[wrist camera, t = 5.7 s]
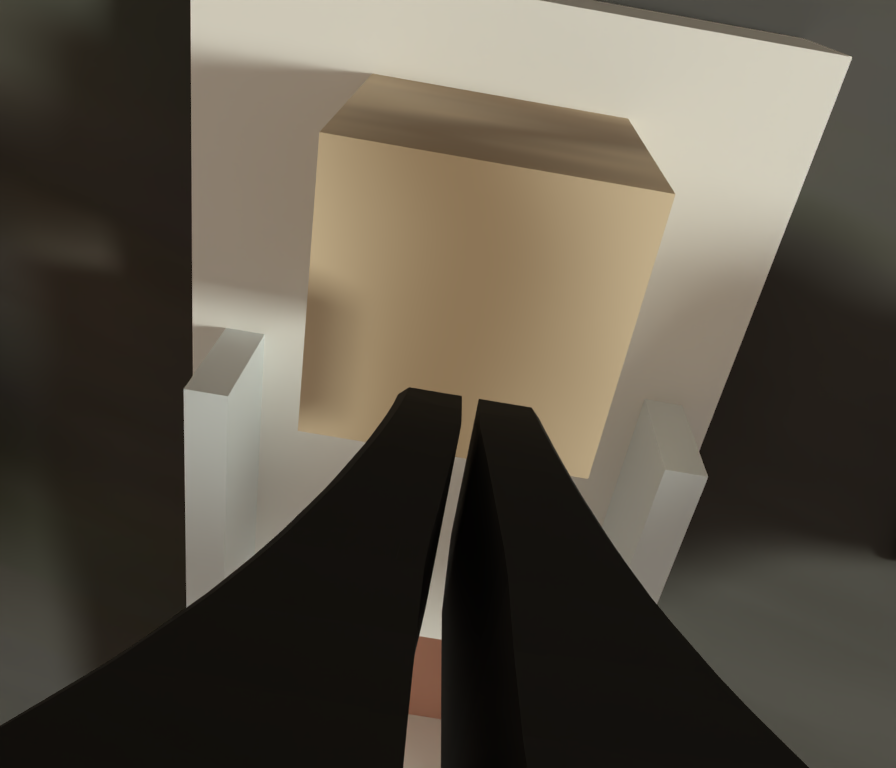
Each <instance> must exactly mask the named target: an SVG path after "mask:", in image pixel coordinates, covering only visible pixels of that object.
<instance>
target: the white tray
mask: <svg viewBox="0 0 896 768" xmlns="http://www.w3.org/2000/svg"><path fill="white" fill-rule="evenodd" d="M190 2H191V167H192V331H193V376H192V378H191V379H190V380H189V382H188V383H187V385H186V386H185V388H184V460H185V537H186V608H187V607H188V606H189V605H191V604H192V603H194V602H195V601H196V600H198V599H199V598H200V597H202V596H203V595H205V594H206V593H207V592H209V591H210V590H211V589H213V588H214V587H215V586H216V585H218V584H219V583H220V582H221V581H223V580H224V579H225V578H226V577H228V576H229V575H230V574H231V573H233V572H234V571H235V570H236V569H238V568H239V567H240V566H241V565H243V564H244V563H245V562H246V561H247V560H249V559H250V558H251V557H252V556H253V555H255V554H256V553H257V552H258V551H259V550H260V549H262V548H263V547H264V546H265V545H266V544H267V543H268V542H270V541H271V540H272V539H273V538H274V537H275V536H276V535H277V534H279V533H280V532H281V531H282V530H283V529H284V528H285V527H286V526H287V525H288V524H289V523H290V522H291V521H292V520H293V519H294V518H295V517H296V516H297V515H298V514H299V513H300V512H301V511H302V510H303V509H305V508H306V507H307V506H308V505H309V504H310V503H311V502H312V501H313V500H314V499H315V498H316V497H317V496H318V495H319V494H320V493H321V492H322V491H323V490H324V489H325V488H326V487H327V486H328V485H329V484H330V483H331V482H332V480H333V479H334V478H335V477H336V476H337V475H338V474H339V473H340V471H341V470H342V469H343V468H344V467H345V466H346V465H347V463H348V462H349V461H350V460H351V459H352V458H353V457H354V455H355V454H356V453H357V452H358V451H359V450H360V449H361V447H362V446H363V445H364V444H365V443H366V442H362V441H356V440H350V439H344V438H338V437H332V436H326V435H320V434H314V433H308V432H302V431H298V420H299V406H300V392H301V378H302V365H303V351H304V337H305V323H306V309H307V295H308V282H309V268H310V254H311V240H312V226H313V213H314V199H315V185H316V171H317V157H318V143H319V132H320V131H321V130H322V129H323V127H324V126H325V125H326V124H327V123H328V122H329V121H330V120H331V119H332V118H333V116H334V115H335V114H336V113H337V112H338V111H339V110H340V109H341V108H342V107H343V105H344V104H345V103H346V102H347V101H348V100H349V99H350V98H351V97H352V95H353V94H354V93H355V92H356V91H357V90H358V89H359V88H360V87H361V86H362V84H363V83H364V82H365V81H366V80H367V79H368V78H369V77H370V76H371V75H372V74H378V75H384V76H389V77H395V78H401V79H406V80H412V81H418V82H423V83H429V84H435V85H440V86H446V87H452V88H457V89H463V90H469V91H474V92H480V93H486V94H491V95H497V96H503V97H508V98H514V99H520V100H525V101H531V102H537V103H542V104H548V105H554V106H559V107H565V108H571V109H576V110H582V111H588V112H594V113H599V114H605V115H611V116H616V117H622V118H628V119H629V121H630V122H631V124H632V126H633V127H634V129H635V130H636V132H637V134H638V135H639V137H640V138H641V140H642V142H643V143H644V145H645V146H646V148H647V150H648V151H649V153H650V154H651V156H652V158H653V159H654V161H655V162H656V164H657V165H658V167H659V169H660V170H661V172H662V173H663V175H664V177H665V178H666V180H667V181H668V183H669V185H670V186H671V188H672V189H673V191H674V193H675V198H674V201H673V204H672V207H671V211H670V214H669V217H668V220H667V224H666V227H665V230H664V233H663V237H662V240H661V243H660V246H659V250H658V253H657V256H656V259H655V263H654V266H653V269H652V273H651V276H650V279H649V282H648V286H647V289H646V292H645V295H644V299H643V302H642V305H641V308H640V312H639V315H638V318H637V321H636V325H635V328H634V331H633V334H632V338H631V341H630V344H629V348H628V351H627V354H626V357H625V361H624V364H623V367H622V370H621V374H620V377H619V380H618V383H617V387H616V390H615V393H614V396H613V400H612V403H611V406H610V409H609V413H608V416H607V419H606V422H605V426H604V429H603V432H602V436H601V439H600V442H599V445H598V449H597V452H596V455H595V458H594V462H593V465H592V468H591V471H590V475H589V478H588V479H585V478H579V477H573V476H571V478H572V480H573V482H574V483H575V485H576V487H577V488H578V490H579V492H580V493H581V495H582V497H583V498H584V500H585V501H586V503H587V505H588V506H589V508H590V509H591V511H592V512H593V514H594V515H595V517H596V519H597V520H598V522H599V523H600V525H601V526H602V528H603V530H604V531H605V533H606V534H607V536H608V537H609V539H610V540H611V542H612V543H613V545H614V546H615V548H616V549H617V551H618V552H619V553H620V555H621V556H622V558H623V559H624V561H625V562H626V564H627V565H628V566H629V568H630V569H631V570H632V572H633V573H634V574H635V576H636V577H637V579H638V580H639V581H640V583H641V584H642V585H643V587H644V588H645V590H646V591H647V592H648V594H649V595H650V596H651V598H652V599H653V600H654V602H655V603H656V604H657V603H658V600H659V598H660V595H661V593H662V590H663V588H664V585H665V583H666V580H667V578H668V575H669V573H670V570H671V568H672V566H673V563H674V561H675V558H676V556H677V553H678V551H679V548H680V546H681V543H682V541H683V538H684V536H685V533H686V531H687V528H688V526H689V523H690V521H691V518H692V516H693V514H694V511H695V509H696V506H697V504H698V501H699V499H700V496H701V494H702V491H703V489H704V486H705V484H706V481H707V479H708V475H707V472H706V469H705V467H704V464H703V461H702V458H701V456H700V453H699V450H700V448H701V445H702V443H703V440H704V437H705V435H706V432H707V430H708V427H709V425H710V422H711V419H712V417H713V414H714V412H715V409H716V407H717V404H718V401H719V399H720V396H721V394H722V391H723V389H724V386H725V383H726V381H727V378H728V376H729V373H730V371H731V368H732V365H733V363H734V360H735V358H736V355H737V353H738V350H739V347H740V345H741V342H742V340H743V337H744V335H745V332H746V329H747V327H748V324H749V322H750V319H751V316H752V314H753V311H754V309H755V306H756V304H757V301H758V298H759V296H760V293H761V291H762V288H763V286H764V283H765V280H766V278H767V275H768V273H769V270H770V268H771V265H772V262H773V260H774V257H775V255H776V252H777V250H778V247H779V244H780V242H781V239H782V237H783V234H784V232H785V229H786V226H787V224H788V221H789V219H790V216H791V214H792V211H793V208H794V206H795V203H796V201H797V198H798V196H799V193H800V190H801V188H802V185H803V183H804V180H805V178H806V175H807V172H808V170H809V167H810V165H811V162H812V160H813V157H814V154H815V152H816V149H817V147H818V144H819V142H820V139H821V136H822V134H823V131H824V129H825V126H826V124H827V121H828V118H829V116H830V113H831V111H832V108H833V106H834V103H835V100H836V98H837V95H838V93H839V90H840V88H841V85H842V82H843V80H844V77H845V75H846V72H847V70H848V67H849V64H850V62H851V59H852V57H851V56H849V55H846V54H843V53H841V52H838V51H835V50H833V49H830V48H828V47H825V46H822V45H820V44H817V43H814V42H812V41H809V40H807V39H804V38H799V37H793V36H788V35H782V34H777V33H771V32H766V31H760V30H755V29H749V28H744V27H738V26H733V25H727V24H722V23H716V22H711V21H705V20H700V19H694V18H689V17H683V16H678V15H672V14H667V13H661V12H656V11H650V10H644V9H639V8H633V7H628V6H622V5H617V4H611V3H606V2H600V1H595V0H190ZM465 464H466V459H465V458H459V457H455V460H454V465H453V470H452V475H451V481H450V486H449V491H448V496H447V501H446V506H445V511H444V516H443V522H442V527H441V532H440V537H439V542H438V547H437V552H436V557H435V563H434V568H433V573H432V578H431V583H430V588H429V593H428V599H427V604H426V609H425V613H424V617H423V622H422V626H421V630H420V634H419V639H418V643H417V647H416V652H415V656H414V665H413V674H412V684H411V693H410V703H409V713H408V723H407V733H406V743H405V754H404V764H403V768H441V640H442V606H443V597H444V588H445V580H446V571H447V563H448V555H449V546H450V538H451V532H452V527H453V522H454V517H455V513H456V508H457V503H458V498H459V493H460V488H461V483H462V478H463V473H464V468H465Z"/></svg>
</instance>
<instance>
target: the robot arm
mask: <svg viewBox="0 0 896 768" xmlns="http://www.w3.org/2000/svg"><path fill="white" fill-rule="evenodd" d="M461 421H462V396H459V395H453V394H447V393H441V392H435V391H429V390H423V389H417V388H411V387H409V388H407V389H406V390H404V391H402V392H401V393H399V394H398V395H397V397H396V399H395V401H394V403H393V405H392V407H391V408H390V410H389V411H388V413H387V414H386V416H385V417H384V419H383V420H382V422H381V423H380V424H379V426H378V427H377V428H376V430H375V431H374V432H373V434H372V435H371V436H370V437H369V439H368V440H367V441H366V443H365V444H364V445H363V446H362V447H361V449H360V450H359V451H358V452H357V453H356V454H355V455H354V457H353V458H352V459H351V460H350V461H349V462H348V463H347V465H346V466H345V467H344V468H343V469H342V470H341V471H340V473H339V474H338V475H337V476H336V477H335V478H334V479H333V480H332V482H331V483H330V484H329V485H328V486H327V487H326V488H325V489H324V490H323V491H322V492H321V493H320V494H319V495H318V496H317V497H316V498H315V499H314V500H313V501H312V502H311V503H310V504H309V505H308V506H307V507H306V508H305V509H303V510H302V511H301V512H300V513H299V514H298V515H297V516H296V517H295V518H294V519H293V520H292V521H291V522H290V523H289V524H288V525H287V526H286V527H285V528H284V529H283V530H282V531H281V532H280V533H279V534H277V535H276V536H275V537H274V538H273V539H272V540H271V541H270V542H268V543H267V544H266V545H265V546H264V547H263V548H262V549H260V550H259V551H258V552H257V553H256V554H255V555H253V556H252V557H251V558H250V559H249V560H247V561H246V562H245V563H244V564H243V565H241V566H240V567H239V568H238V569H236V570H235V571H234V572H233V573H231V574H230V575H229V576H228V577H226V578H225V579H224V580H223V581H221V582H220V583H219V584H218V585H216V586H215V587H214V588H213V589H211V590H210V591H209V592H207V593H206V594H205V595H203V596H202V597H200V598H199V599H198V600H196V601H195V602H194V603H192V604H191V605H189V606H188V607H187V608H185V609H184V610H182V611H181V612H180V613H178V614H177V615H175V616H174V617H173V618H171V619H170V620H168V621H167V622H166V623H164V624H163V625H161V626H160V627H159V628H157V629H156V630H154V631H153V632H152V633H150V634H149V635H147V636H146V637H144V638H143V639H141V640H140V641H138V642H137V643H135V644H134V645H132V646H131V647H129V648H128V649H126V650H125V651H123V652H122V653H120V654H119V655H117V656H116V657H114V658H113V659H111V660H110V661H108V662H106V663H105V664H103V665H102V666H100V667H98V668H97V669H95V670H93V671H92V672H90V673H88V674H87V675H85V676H83V677H82V678H80V679H78V680H76V681H75V682H73V683H71V684H70V685H68V686H66V687H65V688H63V689H61V690H60V691H58V692H56V693H55V694H53V695H51V696H50V697H48V698H46V699H45V700H43V701H41V702H39V703H38V704H36V705H34V706H33V707H31V708H29V709H28V710H26V711H24V712H23V713H21V714H19V715H18V716H16V717H14V718H13V719H11V720H9V721H8V722H6V723H4V724H2V725H1V726H0V768H403V764H404V754H405V743H406V733H407V723H408V713H409V703H410V693H411V684H412V674H413V665H414V656H415V652H416V647H417V643H418V639H419V634H420V630H421V626H422V622H423V617H424V613H425V609H426V604H427V599H428V593H429V588H430V583H431V578H432V573H433V568H434V563H435V557H436V552H437V547H438V542H439V537H440V532H441V527H442V522H443V516H444V511H445V506H446V501H447V496H448V491H449V486H450V481H451V475H452V470H453V465H454V460H455V455H456V450H457V445H458V440H459V434H460V429H461ZM441 768H809V767H808V766H807V765H806V764H805V763H804V762H803V761H802V760H801V759H800V758H799V757H797V756H796V755H795V754H794V753H793V752H792V751H791V750H790V749H789V748H788V747H787V746H786V745H785V744H784V743H783V742H782V741H781V740H780V739H779V738H778V737H777V736H776V735H775V734H774V733H773V732H772V731H771V730H770V729H769V728H768V727H767V726H766V725H765V724H764V723H763V722H762V721H761V720H760V719H759V718H758V717H757V716H756V715H755V714H754V713H753V712H752V711H751V710H750V709H749V708H748V707H747V706H746V705H745V704H744V703H743V702H742V701H741V700H740V699H739V698H738V696H737V695H736V694H735V693H734V692H733V691H732V690H731V689H730V688H729V687H728V686H727V685H726V684H725V683H724V682H723V681H722V680H721V678H720V677H719V676H718V675H717V674H716V673H715V672H714V671H713V670H712V668H711V667H710V666H709V665H708V664H707V663H706V662H705V660H704V659H703V658H702V657H701V656H700V655H699V653H698V652H697V651H696V650H695V649H694V648H693V647H692V645H691V644H690V643H689V642H688V641H687V640H686V639H685V637H684V636H683V635H682V634H681V633H680V632H679V631H678V629H677V628H676V627H675V626H674V625H673V624H672V623H671V621H670V620H669V619H668V618H667V616H666V615H665V614H664V613H663V611H662V610H661V609H660V608H659V606H658V605H657V604H656V603H655V602H654V600H653V599H652V598H651V596H650V595H649V594H648V592H647V591H646V590H645V588H644V587H643V585H642V584H641V583H640V581H639V580H638V579H637V577H636V576H635V574H634V573H633V572H632V570H631V569H630V568H629V566H628V565H627V564H626V562H625V561H624V559H623V558H622V556H621V555H620V553H619V552H618V551H617V549H616V548H615V546H614V545H613V543H612V542H611V540H610V539H609V537H608V536H607V534H606V533H605V531H604V530H603V528H602V526H601V525H600V523H599V522H598V520H597V519H596V517H595V515H594V514H593V512H592V511H591V509H590V508H589V506H588V505H587V503H586V501H585V500H584V498H583V497H582V495H581V493H580V492H579V490H578V488H577V487H576V485H575V483H574V482H573V480H572V478H571V476H570V475H569V473H568V471H567V469H566V468H565V466H564V464H563V462H562V461H561V459H560V457H559V455H558V453H557V452H556V450H555V448H554V446H553V444H552V442H551V440H550V438H549V437H548V435H547V433H546V431H545V429H544V427H543V425H542V423H541V421H540V419H539V417H538V416H537V415H536V413H535V412H534V410H533V409H532V407H526V406H520V405H514V404H508V403H502V402H496V401H490V400H484V399H479V400H478V405H477V410H476V415H475V420H474V424H473V429H472V434H471V439H470V444H469V449H468V454H467V459H466V464H465V468H464V473H463V478H462V483H461V488H460V493H459V498H458V503H457V508H456V513H455V517H454V522H453V527H452V532H451V538H450V546H449V555H448V563H447V571H446V580H445V588H444V597H443V606H442V640H441Z"/></svg>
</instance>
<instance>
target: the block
mask: <svg viewBox="0 0 896 768" xmlns="http://www.w3.org/2000/svg"><path fill="white" fill-rule="evenodd" d="M674 198H675V193H674V191H673V189H672V188H671V186H670V185H669V183H668V181H667V180H666V178H665V177H664V175H663V173H662V172H661V170H660V169H659V167H658V165H657V164H656V162H655V161H654V159H653V158H652V156H651V154H650V153H649V151H648V150H647V148H646V146H645V145H644V143H643V142H642V140H641V138H640V137H639V135H638V134H637V132H636V130H635V129H634V127H633V126H632V124H631V122H630V121H629V119H628V118H622V117H616V116H611V115H605V114H599V113H594V112H588V111H582V110H576V109H571V108H565V107H559V106H554V105H548V104H542V103H537V102H531V101H525V100H520V99H514V98H508V97H503V96H497V95H491V94H486V93H480V92H474V91H469V90H463V89H457V88H452V87H446V86H440V85H435V84H429V83H423V82H418V81H412V80H406V79H401V78H395V77H389V76H384V75H378V74H372V75H371V76H370V77H369V78H368V79H367V80H366V81H365V82H364V83H363V84H362V86H361V87H360V88H359V89H358V90H357V91H356V92H355V93H354V94H353V95H352V97H351V98H350V99H349V100H348V101H347V102H346V103H345V104H344V105H343V107H342V108H341V109H340V110H339V111H338V112H337V113H336V114H335V115H334V116H333V118H332V119H331V120H330V121H329V122H328V123H327V124H326V125H325V126H324V127H323V129H322V130H321V131H320V132H319V143H318V157H317V171H316V185H315V199H314V213H313V226H312V240H311V254H310V268H309V282H308V295H307V309H306V323H305V337H304V351H303V365H302V378H301V392H300V406H299V420H298V431H302V432H308V433H314V434H320V435H326V436H332V437H338V438H344V439H350V440H356V441H362V442H366V441H367V440H368V439H369V437H370V436H371V435H372V434H373V432H374V431H375V430H376V428H377V427H378V426H379V424H380V423H381V422H382V420H383V419H384V417H385V416H386V414H387V413H388V411H389V410H390V408H391V407H392V405H393V403H394V401H395V399H396V397H397V395H398V394H399V393H401V392H402V391H404V390H406V389H407V388H409V387H411V388H417V389H423V390H429V391H435V392H441V393H447V394H453V395H459V396H462V421H461V429H460V434H459V440H458V445H457V450H456V455H455V457H459V458H465V459H467V454H468V449H469V444H470V439H471V434H472V429H473V424H474V420H475V415H476V410H477V405H478V400H479V399H484V400H490V401H496V402H502V403H508V404H514V405H520V406H526V407H532V409H533V410H534V412H535V413H536V415H537V416H538V417H539V419H540V421H541V423H542V425H543V427H544V429H545V431H546V433H547V435H548V437H549V438H550V440H551V442H552V444H553V446H554V448H555V450H556V452H557V453H558V455H559V457H560V459H561V461H562V462H563V464H564V466H565V468H566V469H567V471H568V473H569V475H570V476H573V477H579V478H585V479H588V478H589V475H590V471H591V468H592V465H593V462H594V458H595V455H596V452H597V449H598V445H599V442H600V439H601V436H602V432H603V429H604V426H605V422H606V419H607V416H608V413H609V409H610V406H611V403H612V400H613V396H614V393H615V390H616V387H617V383H618V380H619V377H620V374H621V370H622V367H623V364H624V361H625V357H626V354H627V351H628V348H629V344H630V341H631V338H632V334H633V331H634V328H635V325H636V321H637V318H638V315H639V312H640V308H641V305H642V302H643V299H644V295H645V292H646V289H647V286H648V282H649V279H650V276H651V273H652V269H653V266H654V263H655V259H656V256H657V253H658V250H659V246H660V243H661V240H662V237H663V233H664V230H665V227H666V224H667V220H668V217H669V214H670V211H671V207H672V204H673V201H674Z"/></svg>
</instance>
